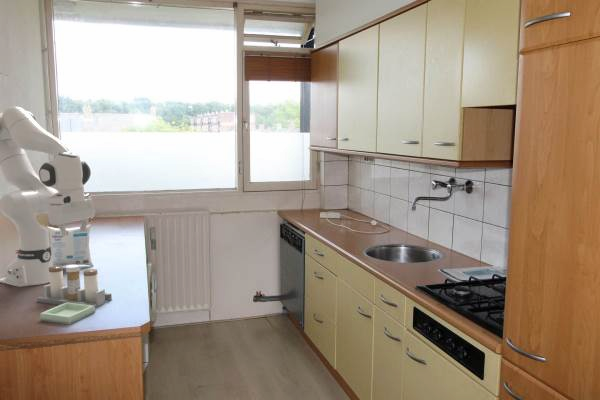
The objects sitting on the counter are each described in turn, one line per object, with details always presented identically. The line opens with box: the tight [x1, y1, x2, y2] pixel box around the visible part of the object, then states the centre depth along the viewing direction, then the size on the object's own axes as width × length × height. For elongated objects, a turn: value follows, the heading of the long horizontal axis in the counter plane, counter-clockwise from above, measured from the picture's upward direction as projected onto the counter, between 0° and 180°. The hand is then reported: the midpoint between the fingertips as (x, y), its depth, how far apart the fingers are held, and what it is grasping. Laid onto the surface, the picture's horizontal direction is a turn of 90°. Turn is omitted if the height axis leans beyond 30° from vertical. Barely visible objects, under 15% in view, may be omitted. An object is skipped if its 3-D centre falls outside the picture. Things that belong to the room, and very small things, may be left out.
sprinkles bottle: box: [65, 265, 81, 301], centre depth 197 cm, size 5×5×14 cm
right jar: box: [82, 268, 99, 305], centre depth 194 cm, size 5×5×12 cm
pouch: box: [46, 223, 94, 267], centre depth 244 cm, size 8×19×20 cm, turn 102°
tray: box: [40, 302, 96, 325], centre depth 181 cm, size 12×12×2 cm
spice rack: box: [36, 283, 113, 307], centre depth 197 cm, size 25×10×5 cm, turn 71°
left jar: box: [49, 266, 64, 299], centre depth 199 cm, size 5×5×12 cm
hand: (74, 233), depth 196 cm, fingers open, 8 cm apart
